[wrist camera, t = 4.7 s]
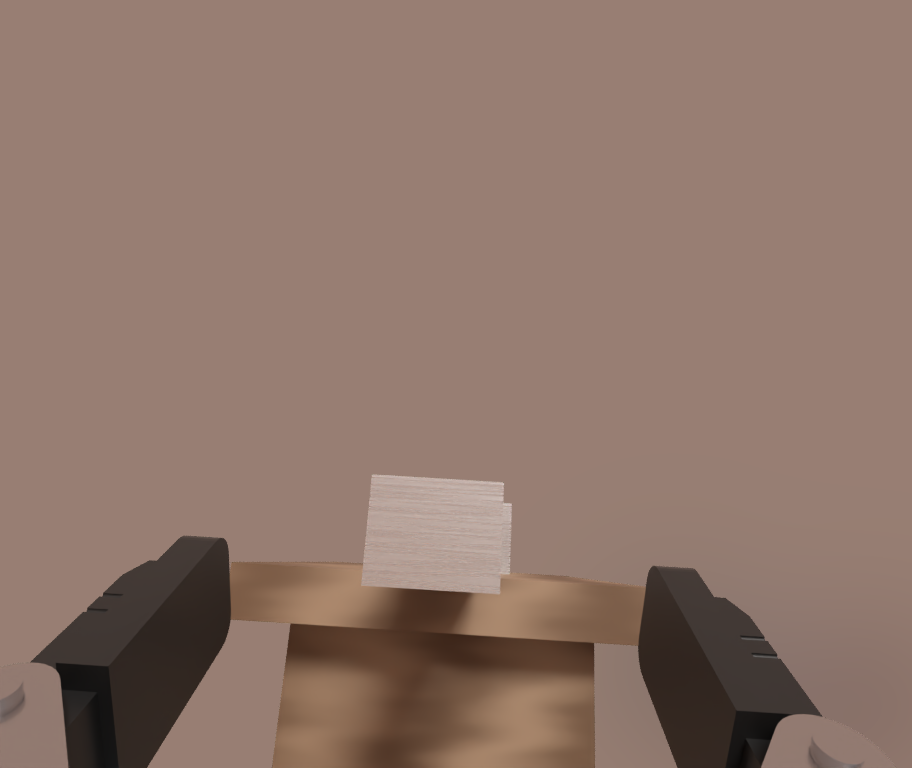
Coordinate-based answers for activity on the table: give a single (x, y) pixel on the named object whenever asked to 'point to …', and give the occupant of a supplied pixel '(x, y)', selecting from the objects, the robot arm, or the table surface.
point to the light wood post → (437, 534)
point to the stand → (435, 667)
